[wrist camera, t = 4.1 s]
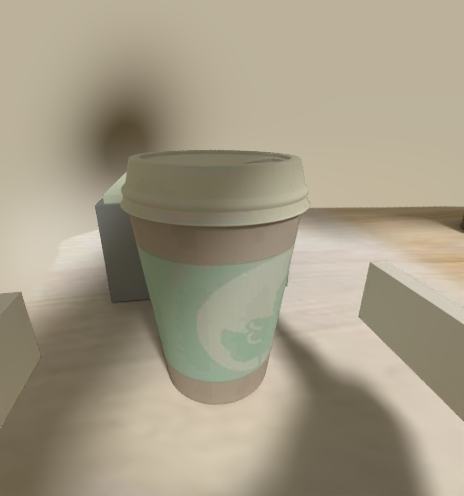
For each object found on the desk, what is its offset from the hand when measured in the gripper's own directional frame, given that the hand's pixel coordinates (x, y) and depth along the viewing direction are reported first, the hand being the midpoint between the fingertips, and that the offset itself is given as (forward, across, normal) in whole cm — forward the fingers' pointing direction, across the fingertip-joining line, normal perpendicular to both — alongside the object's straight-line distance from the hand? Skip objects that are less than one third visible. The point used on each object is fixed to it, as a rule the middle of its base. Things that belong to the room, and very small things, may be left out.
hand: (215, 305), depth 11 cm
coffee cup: (+4, +1, -7) cm, 8 cm away
